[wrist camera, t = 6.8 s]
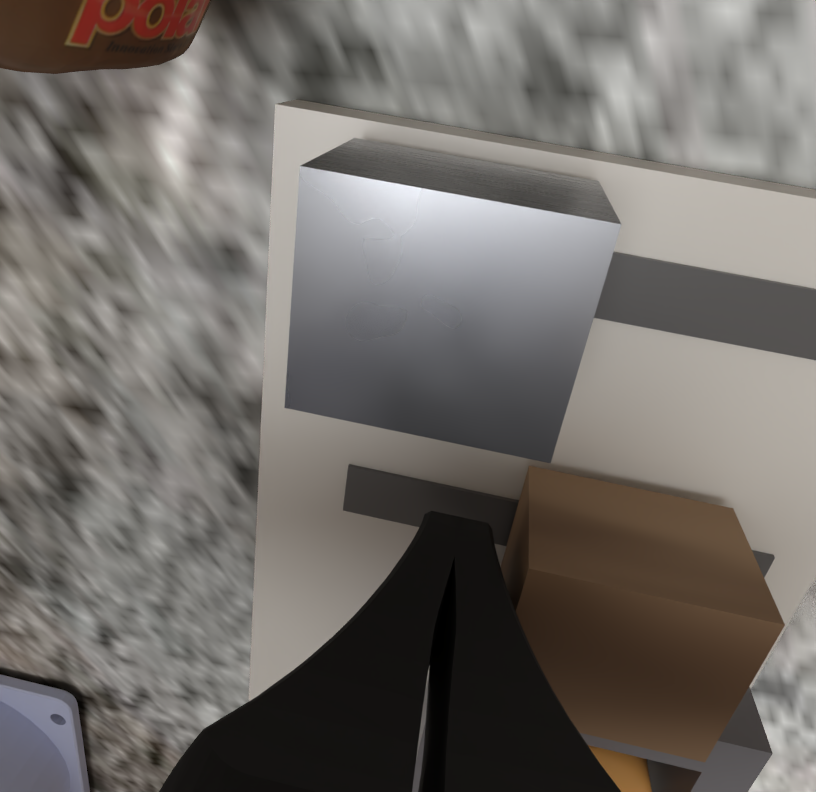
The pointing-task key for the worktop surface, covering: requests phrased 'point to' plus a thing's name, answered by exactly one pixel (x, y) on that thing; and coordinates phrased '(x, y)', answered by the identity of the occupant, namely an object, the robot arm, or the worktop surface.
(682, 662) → the small cardboard carton
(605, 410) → the panel
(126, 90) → the worktop surface
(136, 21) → the tin
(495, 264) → the grey slider
